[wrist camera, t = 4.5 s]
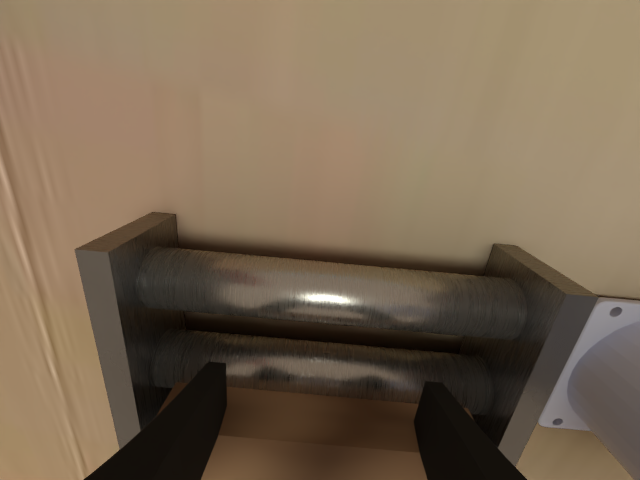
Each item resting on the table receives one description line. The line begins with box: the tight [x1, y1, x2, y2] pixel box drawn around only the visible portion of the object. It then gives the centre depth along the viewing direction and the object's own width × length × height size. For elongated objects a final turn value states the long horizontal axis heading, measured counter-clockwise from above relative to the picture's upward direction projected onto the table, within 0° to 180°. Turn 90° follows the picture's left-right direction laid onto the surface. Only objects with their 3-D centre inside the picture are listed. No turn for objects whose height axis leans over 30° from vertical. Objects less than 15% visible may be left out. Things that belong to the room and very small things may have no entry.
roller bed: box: [75, 212, 599, 466], centre depth 15 cm, size 16×24×5 cm, turn 175°
